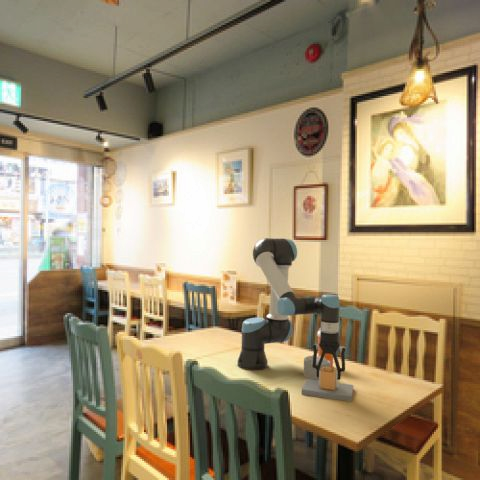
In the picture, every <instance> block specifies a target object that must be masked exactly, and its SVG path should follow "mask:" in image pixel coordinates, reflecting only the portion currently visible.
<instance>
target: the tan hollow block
mask: <svg viewBox="0 0 480 480" xmlns="http://www.w3.org/2000/svg"><path fill="white" fill-rule="evenodd" d="M336 371H337V368H334V367H322V369H321V373H320V388H324V389H331V390H335V380H336Z"/></svg>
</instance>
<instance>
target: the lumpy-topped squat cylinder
mask: <svg viewBox="0 0 480 480" xmlns="http://www.w3.org/2000/svg"><path fill="white" fill-rule="evenodd" d="M313 355H314V354H312V355H308V356H305V357H304V358H303V375H304V376H305V377H307V378H308V379H313V380H319V377H317V370H316V369H315V368H313V367H312V365H313ZM320 357H321V356H320ZM320 357H318V356H317V360H316V365H318V363H319V360H320ZM322 367H331V362H330V361H329V360H326V359H325V357H324V358H323V361H322V364H321V366H320V369H322Z"/></svg>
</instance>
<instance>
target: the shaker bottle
mask: <svg viewBox="0 0 480 480" xmlns="http://www.w3.org/2000/svg"><path fill="white" fill-rule="evenodd" d="M321 331H322V330H321V326H320V327H319V328H318V330H317V344H319V343H320V335H321ZM322 352H323V351H322V349H321V348H320V346H319V348H318V349H317V357H320V356H321V355H322ZM324 357H325V359H326V360H329V361H330V362H331V367H332V368H334V365H333V364H334V358H333V355H332V354H325V355H324Z"/></svg>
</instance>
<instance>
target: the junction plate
mask: <svg viewBox="0 0 480 480" xmlns="http://www.w3.org/2000/svg"><path fill="white" fill-rule="evenodd" d="M353 393H354V384H349V383H341V382H338V387H337V388H335V390H331V389H324V388H320V386H319V380H315V379H312V378H306V380H305V383H304V384H303V386H302V388H301V395H303V396H304V395H306V396H312V397H319V398H324V399H332V400H339V401H347V402H352V399H353Z"/></svg>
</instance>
